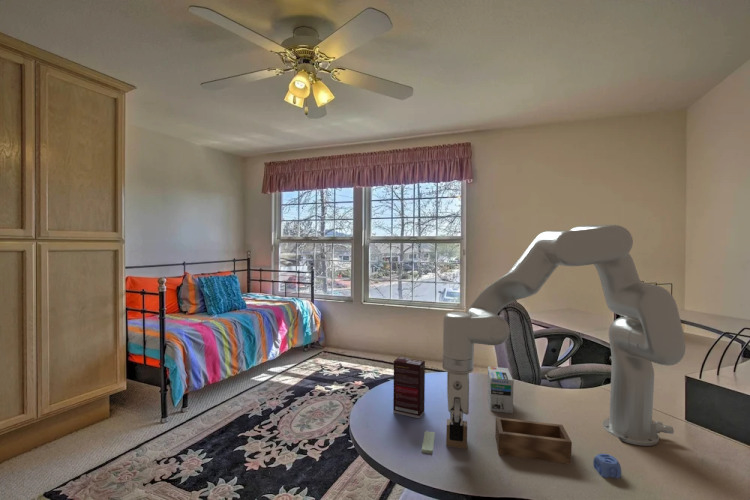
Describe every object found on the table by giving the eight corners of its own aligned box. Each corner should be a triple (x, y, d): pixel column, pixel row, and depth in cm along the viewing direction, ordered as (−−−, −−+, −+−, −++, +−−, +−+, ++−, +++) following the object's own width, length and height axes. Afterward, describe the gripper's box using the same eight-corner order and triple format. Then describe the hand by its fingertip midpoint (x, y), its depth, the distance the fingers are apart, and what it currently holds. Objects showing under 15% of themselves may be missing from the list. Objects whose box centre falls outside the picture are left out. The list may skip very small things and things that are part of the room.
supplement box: (424, 412, 112) (425, 360, 111) (419, 419, 107) (420, 365, 106) (398, 406, 115) (398, 355, 114) (392, 413, 111) (393, 360, 110)
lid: (489, 444, 96) (490, 418, 96) (492, 464, 88) (492, 436, 87) (424, 435, 100) (425, 411, 99) (421, 454, 91) (422, 427, 91)
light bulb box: (513, 415, 110) (514, 380, 110) (489, 413, 111) (490, 378, 111) (507, 400, 121) (508, 367, 120) (486, 398, 122) (487, 365, 121)
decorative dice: (610, 470, 85) (611, 453, 85) (621, 482, 81) (622, 464, 81) (592, 469, 85) (593, 452, 85) (602, 481, 81) (603, 463, 81)
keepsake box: (561, 448, 94) (562, 424, 93) (570, 467, 86) (571, 442, 86) (495, 439, 97) (495, 417, 97) (498, 457, 89) (499, 433, 89)
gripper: (474, 377, 83) (473, 451, 84) (472, 353, 100) (470, 415, 101) (440, 373, 85) (439, 446, 86) (444, 350, 102) (442, 411, 103)
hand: (456, 429), depth 93 cm, fingers open, 9 cm apart
